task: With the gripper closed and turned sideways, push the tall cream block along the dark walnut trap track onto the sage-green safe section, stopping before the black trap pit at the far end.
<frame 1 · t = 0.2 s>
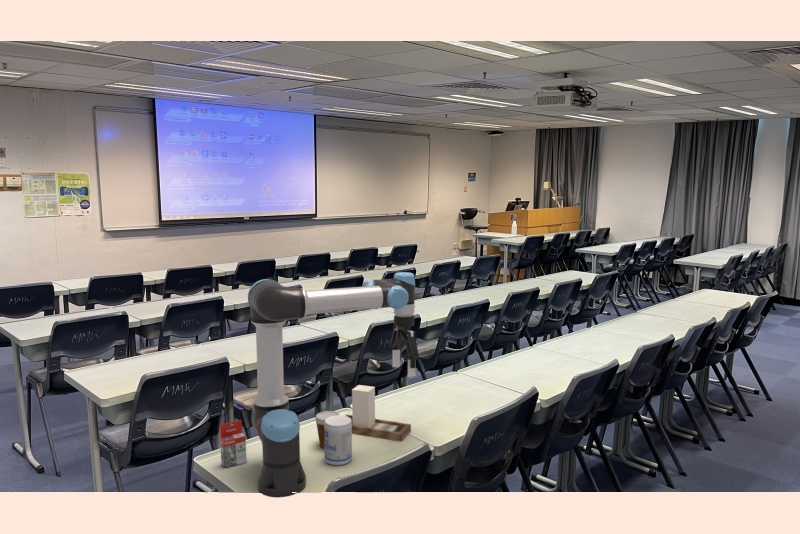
hand: (403, 371, 214), 28 cm above the table, tool pointing down, fingers open, 13 cm apart
supplement tub: (338, 460, 204), on the table
ink box: (234, 464, 201), on the table
block: (363, 424, 230), point 2 cm above the table, touching trap track
trap track: (373, 431, 228), on the table
disposable coffee cup: (328, 446, 215), on the table
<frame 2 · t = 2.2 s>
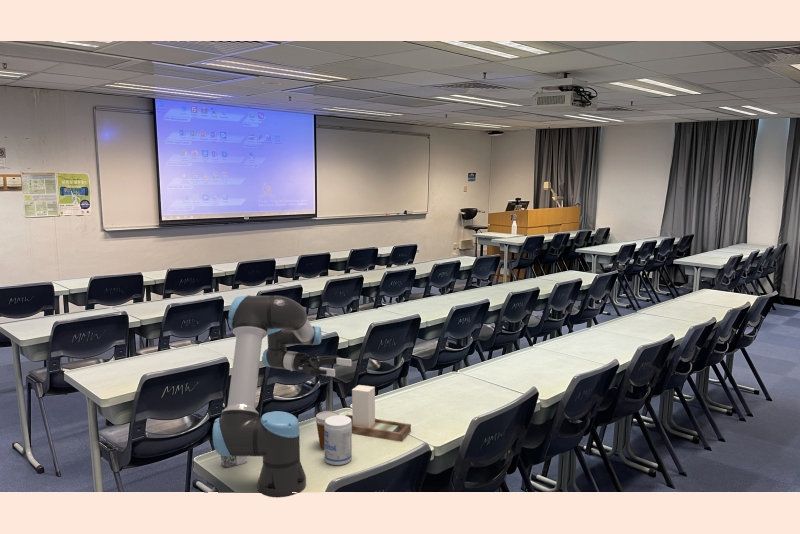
hand: (343, 367, 230), 24 cm above the table, tool horizontal, fingers open, 13 cm apart
nothing on the table moved.
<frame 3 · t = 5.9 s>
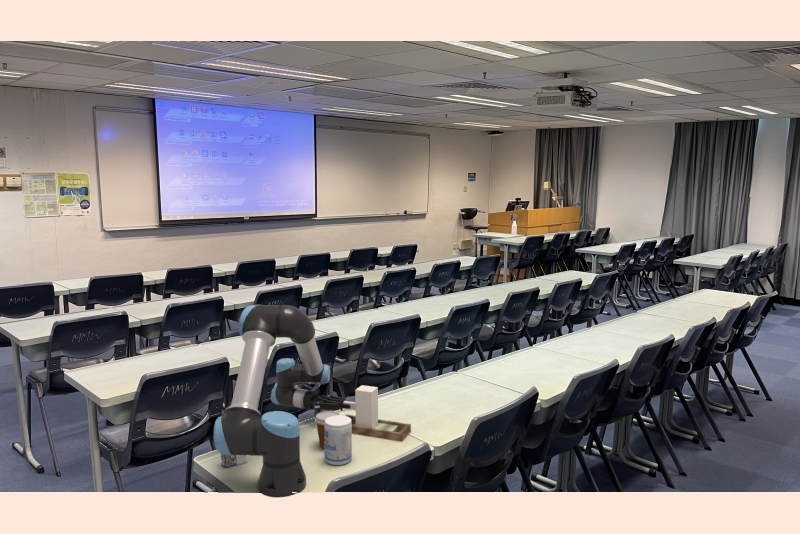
hand: (358, 406, 230), 9 cm above the table, tool horizontal, fingers closed
block: (367, 425, 229), point 2 cm above the table
everything else where it was.
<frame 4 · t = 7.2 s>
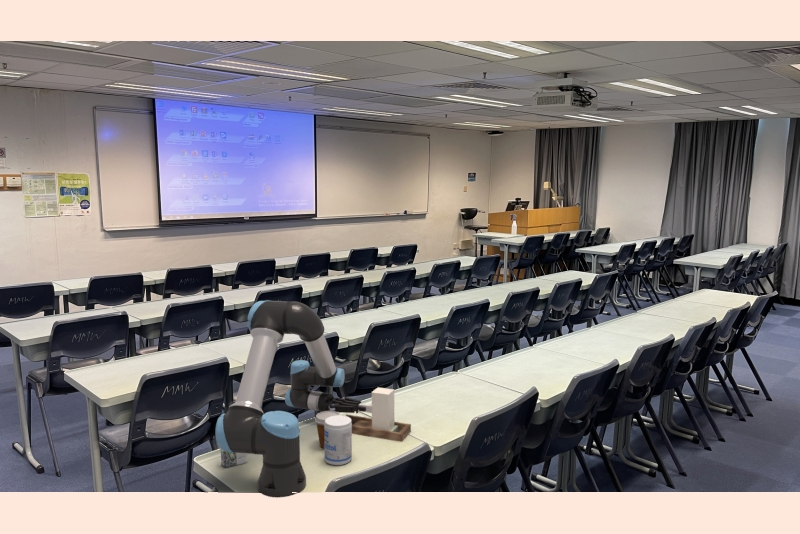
hand: (374, 409, 227), 9 cm above the table, tool horizontal, fingers closed
block: (383, 427, 227), point 2 cm above the table, touching trap track
everything else where it was.
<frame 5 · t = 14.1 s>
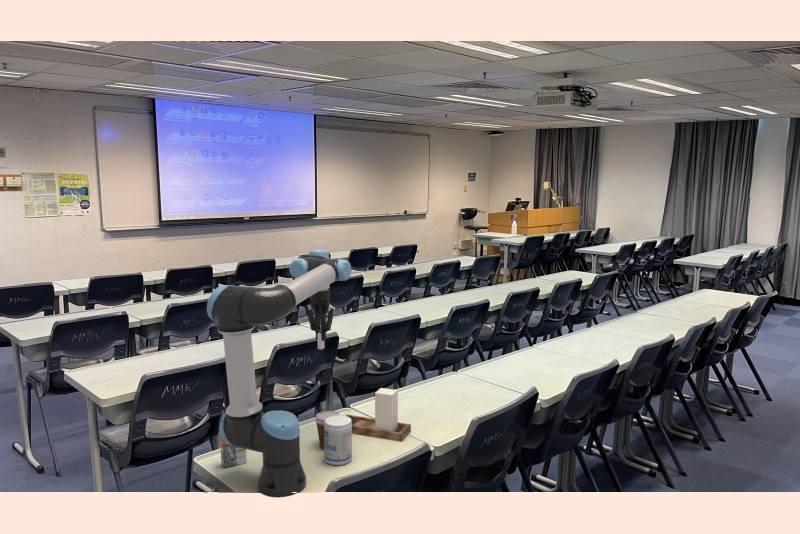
hand: (321, 348, 228), 32 cm above the table, tool pointing down, fingers closed
block: (386, 428, 226), point 2 cm above the table, touching trap track
everything else where it was.
at the end: block 0.5 cm from the target spot, point 2.0 cm above the table; block tilted 0°; block moved 9.8 cm from its start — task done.
